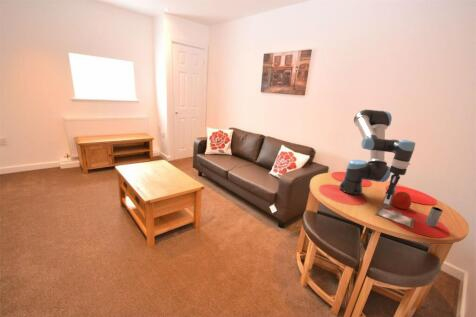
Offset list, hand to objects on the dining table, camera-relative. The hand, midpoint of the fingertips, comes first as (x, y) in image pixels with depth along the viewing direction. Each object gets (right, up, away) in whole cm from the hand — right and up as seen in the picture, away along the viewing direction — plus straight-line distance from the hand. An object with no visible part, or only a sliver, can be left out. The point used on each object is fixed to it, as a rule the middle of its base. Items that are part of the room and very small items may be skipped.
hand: (387, 202), depth 128 cm
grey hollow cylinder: (+19, -11, -9) cm, 23 cm away
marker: (0, -2, +1) cm, 3 cm away
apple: (+15, -5, +9) cm, 18 cm away
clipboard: (+2, -8, -4) cm, 9 cm away
